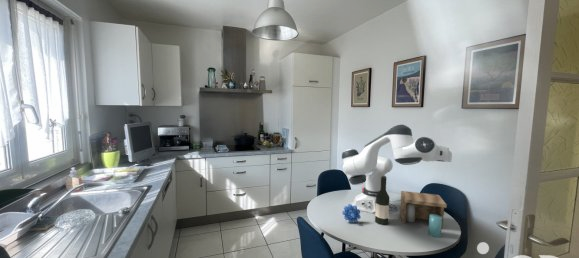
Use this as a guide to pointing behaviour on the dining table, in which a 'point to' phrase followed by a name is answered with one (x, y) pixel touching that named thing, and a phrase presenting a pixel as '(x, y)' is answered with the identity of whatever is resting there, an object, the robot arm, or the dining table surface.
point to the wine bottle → (382, 204)
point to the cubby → (422, 205)
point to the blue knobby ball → (351, 213)
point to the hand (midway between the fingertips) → (428, 156)
